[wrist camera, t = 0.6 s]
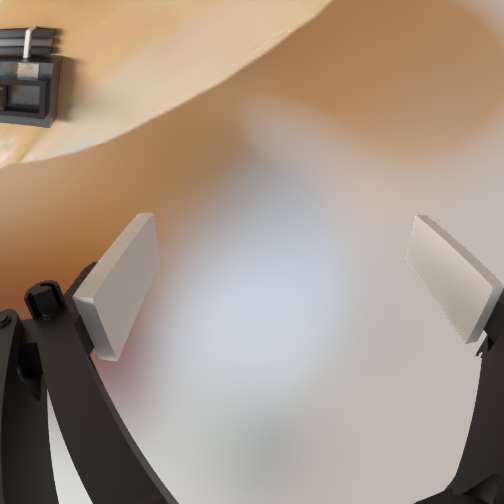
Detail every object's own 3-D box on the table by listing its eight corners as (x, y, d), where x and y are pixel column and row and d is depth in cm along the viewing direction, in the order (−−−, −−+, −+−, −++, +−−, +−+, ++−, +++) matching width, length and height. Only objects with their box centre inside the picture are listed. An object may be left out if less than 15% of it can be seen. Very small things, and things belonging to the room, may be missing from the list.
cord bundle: (-29, 55, 20) (-35, 60, 19) (-28, 31, 16) (-34, 35, 16) (51, 54, 27) (45, 58, 26) (55, 26, 24) (50, 30, 23)
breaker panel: (-32, 110, 28) (-44, 124, 26) (-36, 56, 19) (-50, 68, 17) (56, 118, 37) (46, 132, 35) (62, 55, 28) (49, 66, 26)
